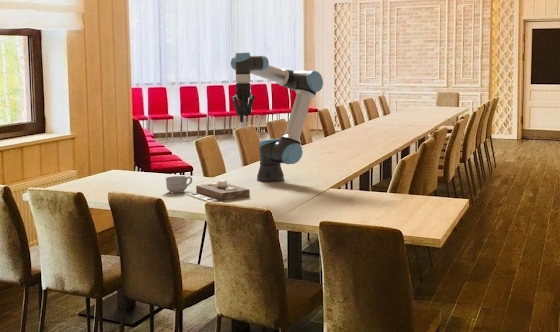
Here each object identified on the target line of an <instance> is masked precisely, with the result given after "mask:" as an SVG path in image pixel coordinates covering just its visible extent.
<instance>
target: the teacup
mask: <svg viewBox="0 0 560 332" xmlns="http://www.w3.org/2000/svg"><path fill="white" fill-rule="evenodd" d="M188 179H189V182H187V181H188ZM165 181H166V183H165V185H166V190H167V191H169V192H170V193H171V194H173V193H174V194H177V193H183V192H184V191H185V190H186V189H187V188H188V187H189V186H190V185H191V184H192V183H193V177H192V176H186V175H185V176H184V175H177V176H176V175H175V176H168V177H167V176H166V178H165Z"/></svg>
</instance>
